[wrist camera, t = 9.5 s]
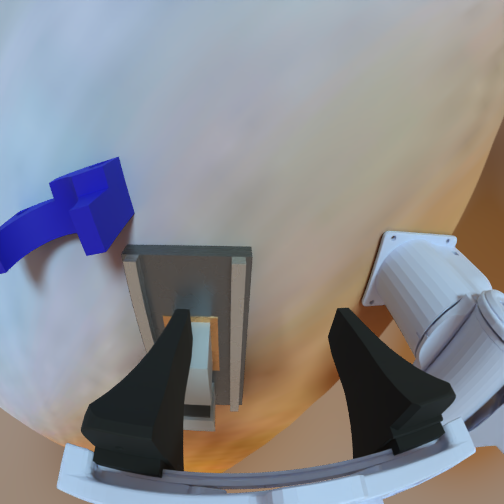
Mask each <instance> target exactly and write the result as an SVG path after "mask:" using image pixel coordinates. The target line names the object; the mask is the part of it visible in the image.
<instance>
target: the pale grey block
mask: <svg viewBox="0 0 504 504" xmlns="http://www.w3.org/2000/svg"><path fill="white" fill-rule="evenodd" d="M191 326H192V334H193V346H192V358H191V364H190V370H189V376H188V381H187V387H186V393H185V401H184V404H190V405H211V399H212V367H213V362H212V347H211V330H210V323H205V322H191Z"/></svg>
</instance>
